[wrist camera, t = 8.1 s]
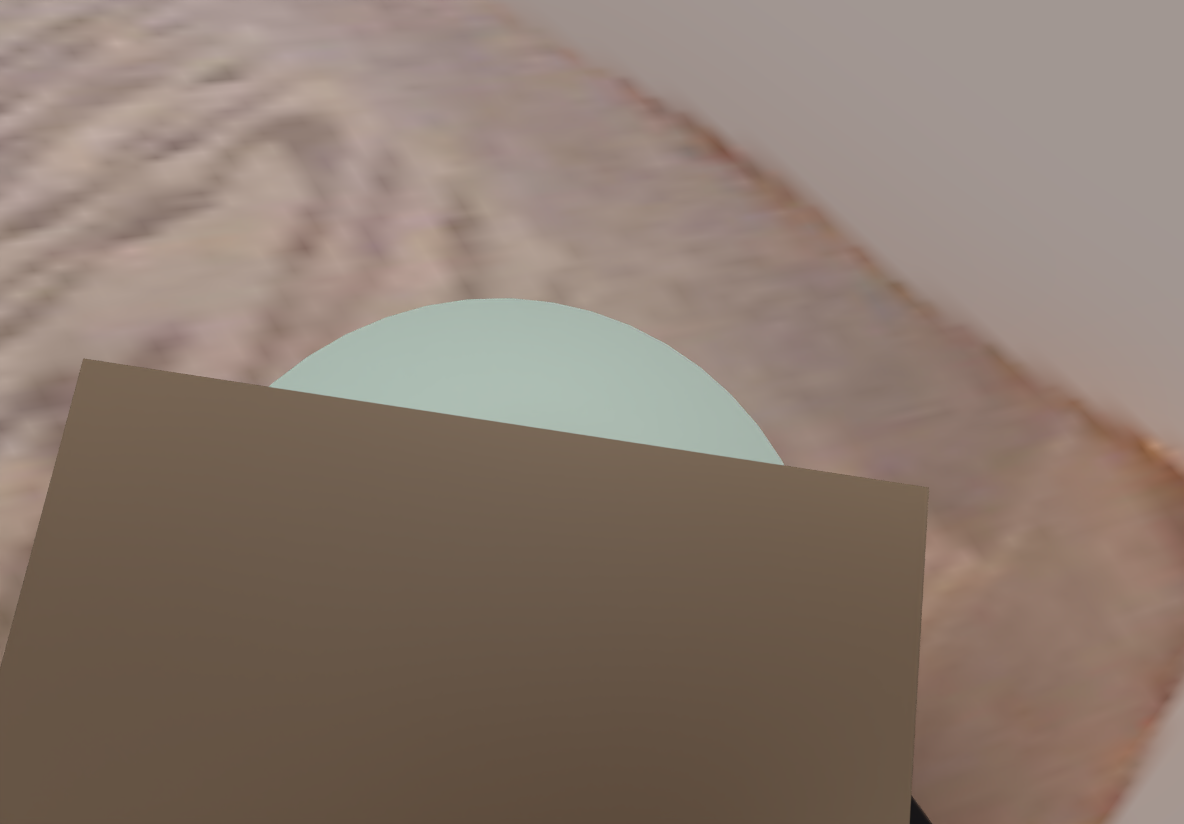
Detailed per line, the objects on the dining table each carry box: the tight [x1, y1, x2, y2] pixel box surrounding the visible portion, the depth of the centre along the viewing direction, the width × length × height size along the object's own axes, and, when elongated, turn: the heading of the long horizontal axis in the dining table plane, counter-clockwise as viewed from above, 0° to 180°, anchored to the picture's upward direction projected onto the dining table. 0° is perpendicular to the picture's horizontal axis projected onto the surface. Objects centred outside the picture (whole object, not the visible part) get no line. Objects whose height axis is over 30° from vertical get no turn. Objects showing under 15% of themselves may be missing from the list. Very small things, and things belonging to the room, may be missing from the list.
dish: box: [269, 298, 784, 465], centre depth 16 cm, size 14×14×1 cm
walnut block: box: [0, 359, 929, 824], centre depth 9 cm, size 5×5×11 cm
